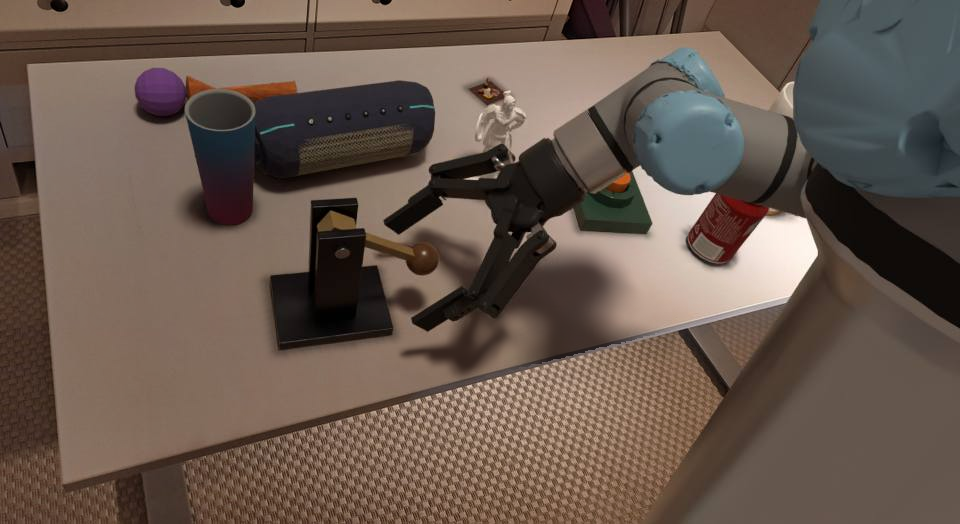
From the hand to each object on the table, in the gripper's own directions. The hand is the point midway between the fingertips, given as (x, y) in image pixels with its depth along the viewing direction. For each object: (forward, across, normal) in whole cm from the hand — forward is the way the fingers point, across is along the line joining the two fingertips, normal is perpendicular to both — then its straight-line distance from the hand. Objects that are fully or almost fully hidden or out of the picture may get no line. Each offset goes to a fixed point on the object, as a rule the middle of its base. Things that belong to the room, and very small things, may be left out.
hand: (404, 273), depth 72 cm
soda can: (-29, +3, -36) cm, 46 cm away
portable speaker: (+5, +25, -2) cm, 25 cm away
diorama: (-13, +38, -20) cm, 45 cm away
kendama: (+16, +35, +8) cm, 39 cm away
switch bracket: (+9, 0, +2) cm, 9 cm away
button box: (-20, +13, -27) cm, 36 cm away
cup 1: (+16, +16, +8) cm, 24 cm away
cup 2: (-39, +12, -46) cm, 62 cm away
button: (-23, +13, -25) cm, 36 cm away
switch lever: (0, 0, +5) cm, 5 cm away
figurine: (-8, +19, -16) cm, 26 cm away
